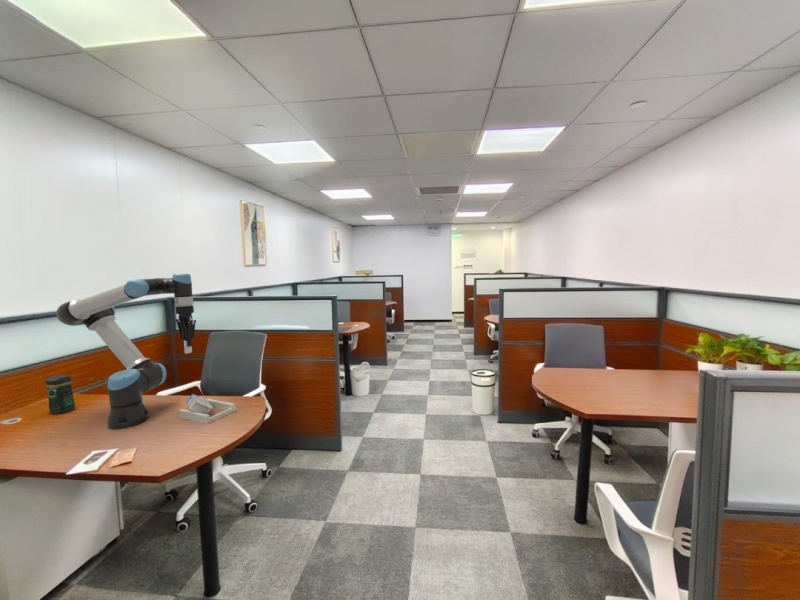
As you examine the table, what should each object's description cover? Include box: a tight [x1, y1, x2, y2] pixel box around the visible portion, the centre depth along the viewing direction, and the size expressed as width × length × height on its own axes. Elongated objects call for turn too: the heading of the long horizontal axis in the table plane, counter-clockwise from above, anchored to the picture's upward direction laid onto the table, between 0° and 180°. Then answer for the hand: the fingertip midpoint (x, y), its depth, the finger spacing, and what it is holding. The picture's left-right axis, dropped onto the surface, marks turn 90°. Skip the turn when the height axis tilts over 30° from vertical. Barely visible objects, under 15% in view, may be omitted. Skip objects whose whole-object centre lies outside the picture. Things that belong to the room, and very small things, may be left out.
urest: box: [178, 398, 236, 425], centre depth 164 cm, size 19×15×4 cm
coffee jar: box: [45, 375, 76, 415], centre depth 173 cm, size 10×8×19 cm
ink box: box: [186, 393, 214, 415], centre depth 164 cm, size 8×5×15 cm
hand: (188, 352), depth 168 cm, fingers closed
